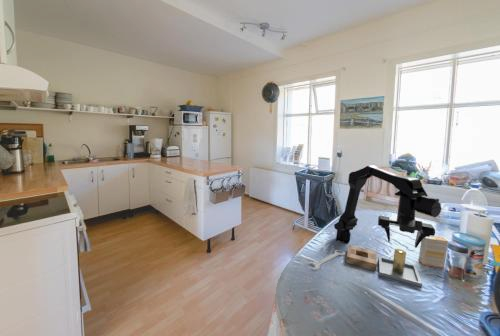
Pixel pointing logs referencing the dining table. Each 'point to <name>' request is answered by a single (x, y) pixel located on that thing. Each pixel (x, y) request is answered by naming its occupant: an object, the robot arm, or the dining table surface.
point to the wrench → (325, 260)
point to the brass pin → (399, 261)
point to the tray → (407, 277)
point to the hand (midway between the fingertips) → (401, 244)
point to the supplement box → (433, 251)
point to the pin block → (362, 257)
